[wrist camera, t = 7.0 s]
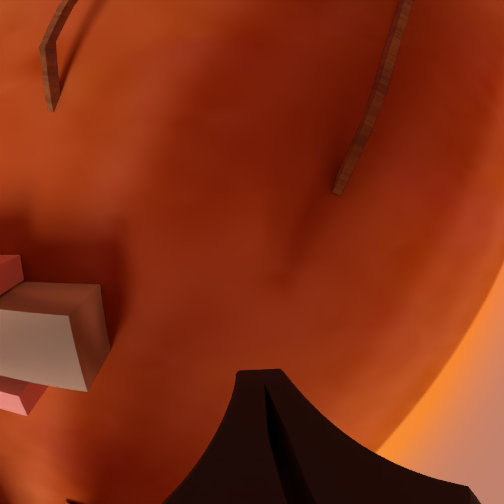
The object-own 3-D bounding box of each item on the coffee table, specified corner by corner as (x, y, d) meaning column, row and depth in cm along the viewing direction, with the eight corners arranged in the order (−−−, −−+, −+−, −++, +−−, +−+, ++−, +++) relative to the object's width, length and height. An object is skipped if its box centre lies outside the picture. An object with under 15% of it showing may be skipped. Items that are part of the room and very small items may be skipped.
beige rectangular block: (112, 347, 13) (87, 391, 10) (-21, 330, 13) (-55, 358, 9) (102, 282, 13) (68, 315, 9) (-34, 276, 12) (-74, 298, 8)
